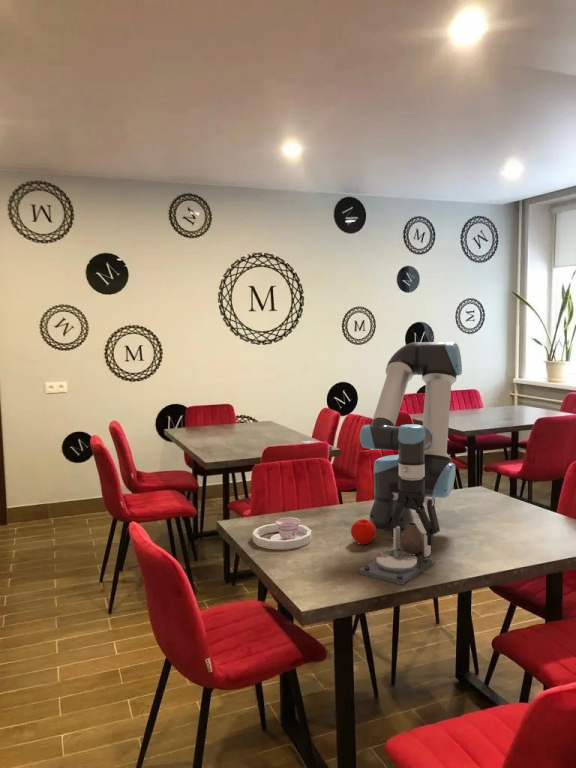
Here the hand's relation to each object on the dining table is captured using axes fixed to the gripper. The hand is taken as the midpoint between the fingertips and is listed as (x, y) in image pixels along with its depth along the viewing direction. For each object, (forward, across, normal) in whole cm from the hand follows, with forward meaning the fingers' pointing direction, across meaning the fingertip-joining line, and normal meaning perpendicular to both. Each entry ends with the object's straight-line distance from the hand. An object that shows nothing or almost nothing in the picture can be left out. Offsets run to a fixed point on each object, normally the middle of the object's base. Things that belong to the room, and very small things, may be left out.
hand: (411, 552), depth 182 cm
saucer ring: (0, -39, -13) cm, 41 cm away
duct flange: (0, +2, -14) cm, 14 cm away
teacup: (+1, -37, -12) cm, 39 cm away
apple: (0, -16, -1) cm, 16 cm away
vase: (0, 0, 0) cm, 0 cm away
